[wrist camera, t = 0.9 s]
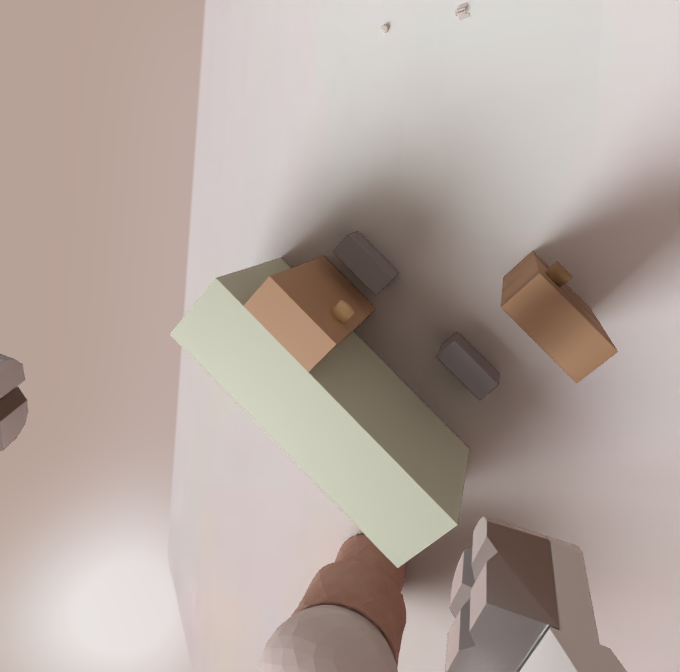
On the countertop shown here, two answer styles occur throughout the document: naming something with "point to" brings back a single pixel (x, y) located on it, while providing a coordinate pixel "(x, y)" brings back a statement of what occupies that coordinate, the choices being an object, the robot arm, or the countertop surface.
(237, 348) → the cabinet
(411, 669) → the countertop surface
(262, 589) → the countertop surface
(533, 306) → the wooden block with peg
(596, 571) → the countertop surface
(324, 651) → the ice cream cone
